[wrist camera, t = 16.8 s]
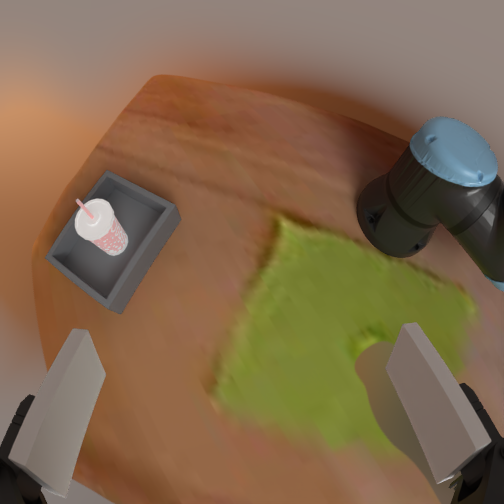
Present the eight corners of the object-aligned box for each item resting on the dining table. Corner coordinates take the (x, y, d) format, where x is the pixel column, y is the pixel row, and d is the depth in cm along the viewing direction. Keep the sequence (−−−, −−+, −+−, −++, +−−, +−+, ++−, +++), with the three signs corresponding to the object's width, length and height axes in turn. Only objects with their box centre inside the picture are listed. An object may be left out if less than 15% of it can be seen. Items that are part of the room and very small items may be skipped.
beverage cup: (122, 265, 44) (83, 229, 31) (93, 252, 44) (50, 215, 31) (138, 231, 46) (107, 185, 33) (109, 220, 46) (73, 175, 33)
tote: (116, 185, 50) (106, 169, 45) (181, 219, 48) (175, 205, 43) (59, 267, 44) (44, 258, 39) (120, 314, 42) (108, 309, 37)
